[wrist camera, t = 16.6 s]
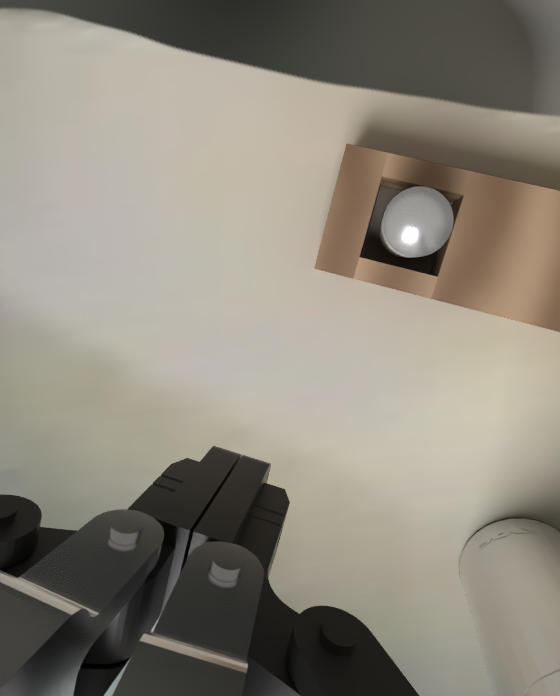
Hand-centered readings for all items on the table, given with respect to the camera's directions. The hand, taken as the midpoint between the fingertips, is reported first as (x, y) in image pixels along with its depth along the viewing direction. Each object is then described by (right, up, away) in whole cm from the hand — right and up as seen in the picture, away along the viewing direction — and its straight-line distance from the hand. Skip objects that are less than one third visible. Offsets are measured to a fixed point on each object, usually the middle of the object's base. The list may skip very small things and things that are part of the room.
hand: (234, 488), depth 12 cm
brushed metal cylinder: (+11, +12, +24) cm, 29 cm away
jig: (+17, +10, +23) cm, 30 cm away
